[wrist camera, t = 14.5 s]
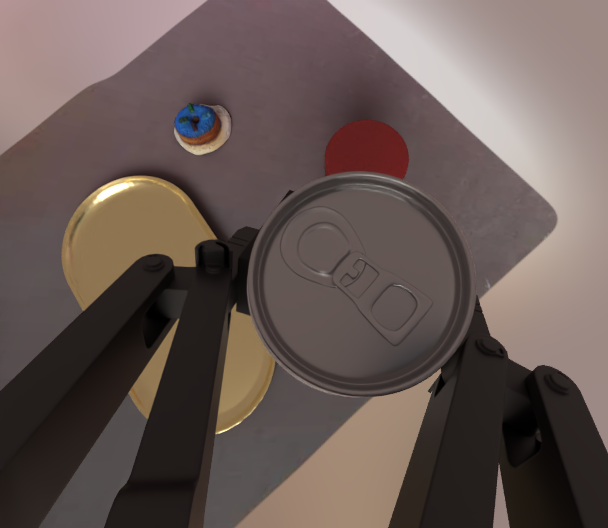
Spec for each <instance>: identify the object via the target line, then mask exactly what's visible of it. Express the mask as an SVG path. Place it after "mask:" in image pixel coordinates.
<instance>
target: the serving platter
mask: <svg viewBox="0 0 608 528" xmlns="http://www.w3.org/2000/svg"><path fill="white" fill-rule="evenodd" d="M211 239H217V237H216V236H215V234H214V233H213V231H212V230H211V228H210V227H209V225H208V224H207V222H206V221H205V219H204V218H203V216H202V215H201V213H200V212H199V210H198V209H197V207H196V206H195V204H194V203H193V202H192V200H191V199H190V198H189V197H188V196H187V195H186V194H185V192H183V191H182V190H181V189H180V188H178V187H177V186H175V185H174V184H172V183H170V182H168V181H166V180H163V179H160V178H156V177H151V176H129V177H124V178H120V179H117V180H114V181H112V182H109V183H107V184H105V185H103V186H102V187H100V188H99V189H97V190H96V191H94V192H93V193H92V194H91V195H89V196H88V197H87V198H86V199H85V200H84V201H83V202H82V203H81V205H80V206H79V207H78V208H77V210H76V211H75V213H74V214H73V216H72V218H71V220H70V222H69V224H68V226H67V229H66V232H65V235H64V239H63V244H62V265H63V270H64V274H65V277H66V280H67V282H68V284H69V286H70V288H71V290H72V292H73V294H74V295H75V297H76V299H77V301H78V303H79V304H80V306H81V308H82V310H83V311H84V310H85V309H86V308H87V307H88V306H89V305H90V304H92V303H93V302H94V301H95V300H96V299H97V298H98V297H99V296H100V295H101V294H102V293H103V292H104V291H105V290H106V289H107V288H108V287H109V286H110V285H111V284H112V283H113V282H114V281H115V280H116V279H118V278H119V277H120V276H121V275H122V274H123V273H124V272H125V271H126V270H127V269H128V268H129V267H130V266H131V265H132V264H133V263H134V262H135V261H136V260H138V259H139V258H141V257H143V256H146V255H149V254H164V255H166V256H169V257H170V258H171V259H172V260H173V263H174V266H182V267H196V264H195V247H196V245H197V244H198V243H200V242H202V241H205V240H211ZM217 240H218V239H217ZM178 322H179V319H177V321H176V322H175V324H174V325H173V327H172V328H171V330H170V331H169V333H168V334H167V336H166V337H165V339H164V340H163V342H162V343H161V345H160V346H159V348H158V349H157V351H156V352H155V354H154V355H153V357H152V358H151V360H150V361H149V363H148V364H147V366H146V367H145V369H144V370H143V372H142V373H141V375H140V376H139V378H138V379H137V381H136V382H135V384H134V385H133V387H132V388H131V390H130V391H129V395H130V397H131V399H132V400H133V402H134V403H135V405H136V407H137V408H138V409H139V410H140V412H141V413H142V414H143V415H144V416H145V417H146V418H147V419H148V418H149V414H150V411H151V408H152V405H153V402H154V398H155V395H156V392H157V389H158V386H159V382H160V379H161V376H162V373H163V370H164V366H165V363H166V360H167V357H168V354H169V350H170V347H171V344H172V341H173V338H174V334H175V331H176V328H177V325H178ZM275 365H276V361H275V360H274V359H273V357H272V356H271V355H270V354H269V352H268V351H267V349H266V348H265V346H264V345H263V343H262V342H261V340H260V338H259V336H258V334H257V332H256V329H255V327H254V324H253V322H252V318H251V316H249V315H246V314H243V313H239V312H236V304H235V305H234V307H233V308H232V310H231V322H230V330H229V337H228V344H227V351H226V359H225V366H224V373H223V381H222V388H221V395H220V403H219V410H218V417H217V425H216V432H215V434H218V433H221V432H223V431H226V430H228V429H230V428H232V427H234V426H235V425H237V424H238V423H240V422H241V421H243V420H244V419H245V418H246V417H248V416H249V415H250V414H251V413H252V412H253V411H254V409H255V408H256V407H257V406H258V405H259V403H260V402H261V400H262V399H263V397H264V396H265V394H266V392H267V390H268V388H269V386H270V383H271V381H272V378H273V374H274V370H275Z"/></svg>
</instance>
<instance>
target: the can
mask: <svg viewBox="0 0 608 528" xmlns="http://www.w3.org/2000/svg"><path fill="white" fill-rule="evenodd" d="M476 288H477V285H476V272H475V266H474V261H473V257H472V254H471V251H470V248H469V245H468V243H467V240H466V238H465V236H464V234H463V232H462V231H461V229H460V227H459V226H458V224H457V223H456V221H455V220H454V218H453V217H452V216H451V215H450V213H449V212H448V211H447V210H446V209H445V208H444V207H443V206H442V205H441V204H440V203H439V202H438V201H437V200H436V199H435V198H433V197H432V196H431V195H429V194H428V193H427V192H425V191H424V190H422V189H420V188H419V187H417V186H415V185H413V184H411V183H409V182H407V181H405V180H402V179H400V178H397V177H394V176H390V175H387V174H382V173H376V172H366V171H353V172H343V173H337V174H332V175H329V176H325V177H322V178H319V179H317V180H314V181H312V182H310V183H308V184H306V185H304V186H302V187H301V188H299V189H298V190H296V191H295V192H293V193H292V194H290V195H289V196H288V197H287V198H286V199H284V200H283V201H282V202H281V203H280V204H279V205H278V206H277V207H276V208H275V209H274V211H273V212H272V213H271V214H270V216H269V217H268V218H267V220H266V221H265V223H264V224H263V226H262V228H261V230H260V232H259V234H258V236H257V238H256V241H255V243H254V246H253V249H252V252H251V256H250V261H249V267H248V277H247V298H248V306H249V311H250V315H251V318H252V322H253V324H254V327H255V329H256V332H257V334H258V336H259V338H260V340H261V342H262V343H263V345H264V346H265V348H266V349H267V351H268V352H269V354H270V355H271V356H272V357H273V359H274V360H275V361H276V362H277V363H278V364H279V365H280V366H281V367H282V368H283V369H284V370H285V371H287V372H288V373H289V374H290V375H292V376H293V377H295V378H296V379H298V380H299V381H301V382H302V383H304V384H306V385H308V386H310V387H312V388H314V389H317V390H319V391H322V392H325V393H329V394H333V395H337V396H344V397H376V396H384V395H389V394H393V393H397V392H400V391H403V390H406V389H408V388H411V387H413V386H415V385H417V384H418V383H421V382H422V381H424V380H426V379H427V378H428V377H430V376H432V375H433V374H434V373H435V372H437V371H438V370H439V369H440V368H441V367H442V366H443V365H444V364H445V363H446V362H447V361H448V360H449V359H450V358H451V357H452V355H453V354H454V353H455V352H456V350H457V349H458V347H459V346H460V344H461V342H462V341H463V339H464V337H465V335H466V333H467V331H468V328H469V326H470V323H471V320H472V316H473V312H474V308H475V302H476Z"/></svg>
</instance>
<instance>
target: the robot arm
mask: <svg viewBox="0 0 608 528" xmlns="http://www.w3.org/2000/svg"><path fill="white" fill-rule="evenodd" d="M293 192H295V191H291V190H289V192H288V193H287V194H286V196H285V197H284V198H283V200H284V199H286V198H287V197H288V196H289V195H290V194H292V193H293ZM283 200H282V201H283ZM282 201H281V202H282ZM281 202H280V203H281ZM280 203H279V204H280ZM261 228H262V227H261ZM261 228H260V230H261ZM260 230H258V229H254V228H251V227H247V226H246V227H244V228H242V229H239V230H237V232H236V233H235V234H234V235H233V236H232V238H230V239H229V241H228V242H225V241H222V240H217V239H211V240H205V241H202V242H200V243H198V244H197V245H196V247H195V264H196V267H182V266H174V263H173V260H172V259H171V258H170V257H169V256H166V255H164V254H149V255H146V256H143V257H141V258H139V259H138V260H136V261H135V262H134V263H133V264H132V265H131V266H130V267H129V268H128V269H127V270H126V271H125V272H124V273H123V274H122V275H121V276H120V277H119V278H118V279H116V280H115V281H114V282H113V283H112V284H111V285H110V286H109V287H108V288H107V289H106V290H105V291H104V292H103V293H102V294H101V295H100V296H99V297H98V298H97V299H96V300H95V301H94V302H93V303H92V304H90V305H89V306H88V307H87V308H86V309H85V310H84V311H83V312H82V313H81V314H80V315H79V316H78V317H77V318H76V319H75V320H74V321H73V322H72V323H71V324H70V325H69V326H68V327H67V328H66V329H64V330H63V331H62V332H61V333H60V334H59V335H58V336H57V337H56V338H55V339H54V340H53V341H52V342H51V343H50V344H49V345H48V346H47V347H46V348H45V349H44V350H43V351H42V352H41V353H40V354H38V355H37V356H36V357H35V358H34V359H33V360H32V361H31V362H30V363H29V364H28V365H27V366H26V367H25V368H24V369H23V370H22V371H21V372H20V373H19V374H18V375H17V376H16V377H15V378H14V379H13V380H11V381H10V382H9V383H8V384H7V385H6V386H5V387H4V388H3V389H2V390H1V391H0V528H38V527H39V526H40V524H41V523H42V521H43V520H44V518H45V517H46V515H47V514H48V512H49V511H50V509H51V508H52V506H53V505H54V503H55V502H56V500H57V499H58V497H59V496H60V494H61V493H62V491H63V490H64V488H65V487H66V485H67V484H68V482H69V481H70V479H71V478H72V476H73V475H74V473H75V472H76V470H77V469H78V467H79V466H80V464H81V463H82V461H83V460H84V458H85V457H86V455H87V454H88V452H89V451H90V449H91V448H92V446H93V445H94V443H95V442H96V440H97V439H98V437H99V436H100V434H101V433H102V431H103V430H104V428H105V427H106V425H107V424H108V422H109V421H110V419H111V418H112V416H113V415H114V413H115V412H116V410H117V409H118V407H119V406H120V405H121V403H122V402H123V400H124V399H125V397H126V396H127V394H128V393H129V391H130V390H131V388H132V387H133V385H134V384H135V382H136V381H137V379H138V378H139V376H140V375H141V373H142V372H143V370H144V369H145V367H146V366H147V364H148V363H149V361H150V360H151V358H152V357H153V355H154V354H155V352H156V351H157V349H158V348H159V346H160V345H161V343H162V342H163V340H164V339H165V337H166V336H167V334H168V333H169V331H170V330H171V328H172V327H173V325H174V324H175V322H176V321H177V319H179V322H178V325H177V328H176V331H175V334H174V338H173V341H172V344H171V347H170V350H169V354H168V357H167V360H166V363H165V366H164V370H163V373H162V376H161V379H160V382H159V386H158V389H157V392H156V395H155V398H154V402H153V405H152V408H151V411H150V414H149V418H148V421H147V424H146V427H145V430H144V434H143V437H142V440H141V443H140V446H139V450H138V453H137V456H136V459H135V463H134V466H133V469H132V472H131V475H130V477H129V480H128V481H127V483H126V484H125V485H124V486H123V487H122V488H121V489H120V490H119V492H118V494H117V496H116V498H115V500H114V502H113V504H112V507H111V510H110V512H109V515H108V518H107V521H106V524H105V527H104V528H203V522H204V513H205V505H206V498H207V490H208V483H209V476H210V469H211V461H212V454H213V447H214V439H215V432H216V425H217V417H218V410H219V403H220V395H221V388H222V381H223V373H224V366H225V359H226V351H227V344H228V337H229V330H230V322H231V310H232V308H233V307H234V305H235V304H236V312H239V313H243V314H246V315H249V316H251V315H250V311H249V306H248V298H247V277H248V267H249V261H250V256H251V252H252V249H253V246H254V243H255V241H256V238H257V236H258V234H259V232H260ZM428 392H430V393H431V392H432V394H431V397H430V400H429V403H428V406H427V409H426V413H425V416H424V419H423V422H422V425H421V428H420V431H419V434H418V437H417V440H416V443H415V447H414V450H413V453H412V456H411V459H410V462H409V465H408V468H407V471H406V474H405V477H404V480H403V484H402V487H401V490H400V493H399V496H398V499H397V502H396V505H395V508H394V511H393V514H392V518H391V521H390V524H389V527H388V528H493V520H494V509H495V498H496V487H497V476H498V465H500V471H501V477H502V483H503V489H504V495H505V501H506V508H507V513H508V520H509V526H510V528H608V453H607V450H606V448H605V446H604V444H603V441H602V439H601V437H600V435H599V432H598V430H597V428H596V426H595V423H594V421H593V419H592V417H591V414H590V412H589V410H588V408H587V405H586V403H585V401H584V399H583V396H582V394H581V392H580V390H579V389H578V387H577V385H576V384H575V383H574V382H573V381H572V380H571V379H570V378H569V377H568V376H566V375H565V374H563V373H562V372H561V371H559V370H557V369H555V368H552V367H550V366H545V365H541V366H538V367H536V368H535V369H534V370H533V371H530V370H529V369H526V368H525V367H523V366H521V365H519V364H517V363H515V362H513V361H512V360H510V359H509V358H508V354H507V351H506V350H505V348H504V347H503V346H502V344H500V343H499V342H498V341H497V340H496V339H494V338H493V337H491V336H490V333H489V330H488V327H487V324H486V321H485V318H484V315H483V313H482V309H481V306H480V302H479V299H478V296H477V295H476V302H475V308H474V312H473V316H472V320H471V323H470V326H469V328H468V331H467V333H466V335H465V337H464V339H463V341H462V342H461V344H460V346H459V347H458V349H457V350H456V352H455V353H454V354H453V355H452V357H451V358H450V359H449V360H448V361H447V362H446V363H445V364H444V365H443V366H442V367H441V374H440V375H439V377H438V378H437V379H436V381H435V382H434V384H433V385H432V386H431V388H430V389H429V390H428Z"/></svg>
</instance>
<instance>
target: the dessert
mask: <svg viewBox="0 0 608 528" xmlns="http://www.w3.org/2000/svg"><path fill="white" fill-rule="evenodd" d="M174 127H175V130H174V131H175V136H176V139H177V140H178V142H179V143H180V144H181V146H182V147H183V148H185V149H186V150H187V151H189V152H191V153H193V154H196V155H203V154H205V153H209V152H212V151H214V150H216V149H218V148H219V147H220V146H221V145H223V144H224V143H225V141H226V140H227V139H228V138H229V137H230V133H231V118H230V115H229V114H228V112H227V111H226V109H224V108H223V107H222V106H220V105H216V106H208V105H205V104H204V105H202V104H200V105H194V104H191V103H189V104H188V106H187V107H185V108H184V109H182V110H181V111H180V112H179V114H178V115H177V117H176V118H175V121H174Z"/></svg>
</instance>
